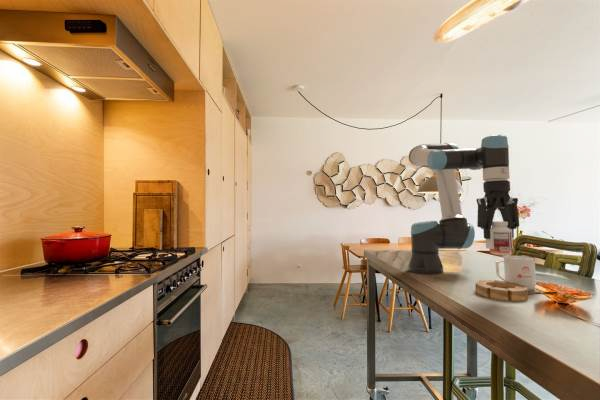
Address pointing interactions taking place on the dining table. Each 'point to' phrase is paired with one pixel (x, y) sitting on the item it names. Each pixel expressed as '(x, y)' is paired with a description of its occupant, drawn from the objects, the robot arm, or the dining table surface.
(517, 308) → the dining table surface
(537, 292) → the lace
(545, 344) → the dining table surface
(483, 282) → the wooden ring
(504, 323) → the dining table surface
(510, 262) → the mug
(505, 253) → the pill bottle
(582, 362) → the dining table surface
